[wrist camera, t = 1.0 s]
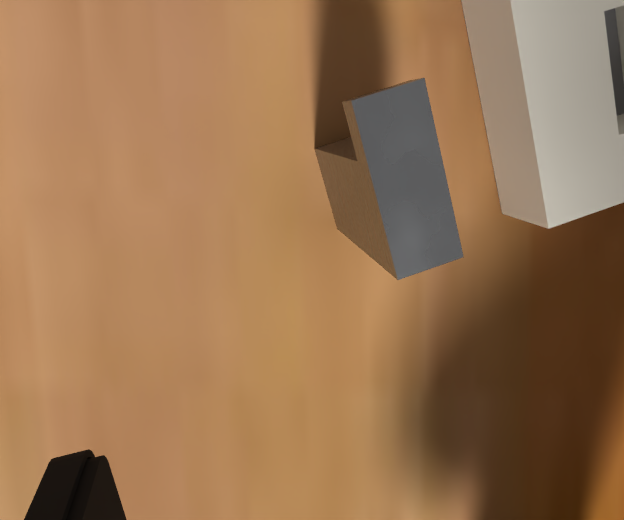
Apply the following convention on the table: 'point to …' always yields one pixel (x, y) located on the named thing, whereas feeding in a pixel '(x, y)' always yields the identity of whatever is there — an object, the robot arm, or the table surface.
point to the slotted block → (551, 103)
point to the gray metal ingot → (392, 181)
